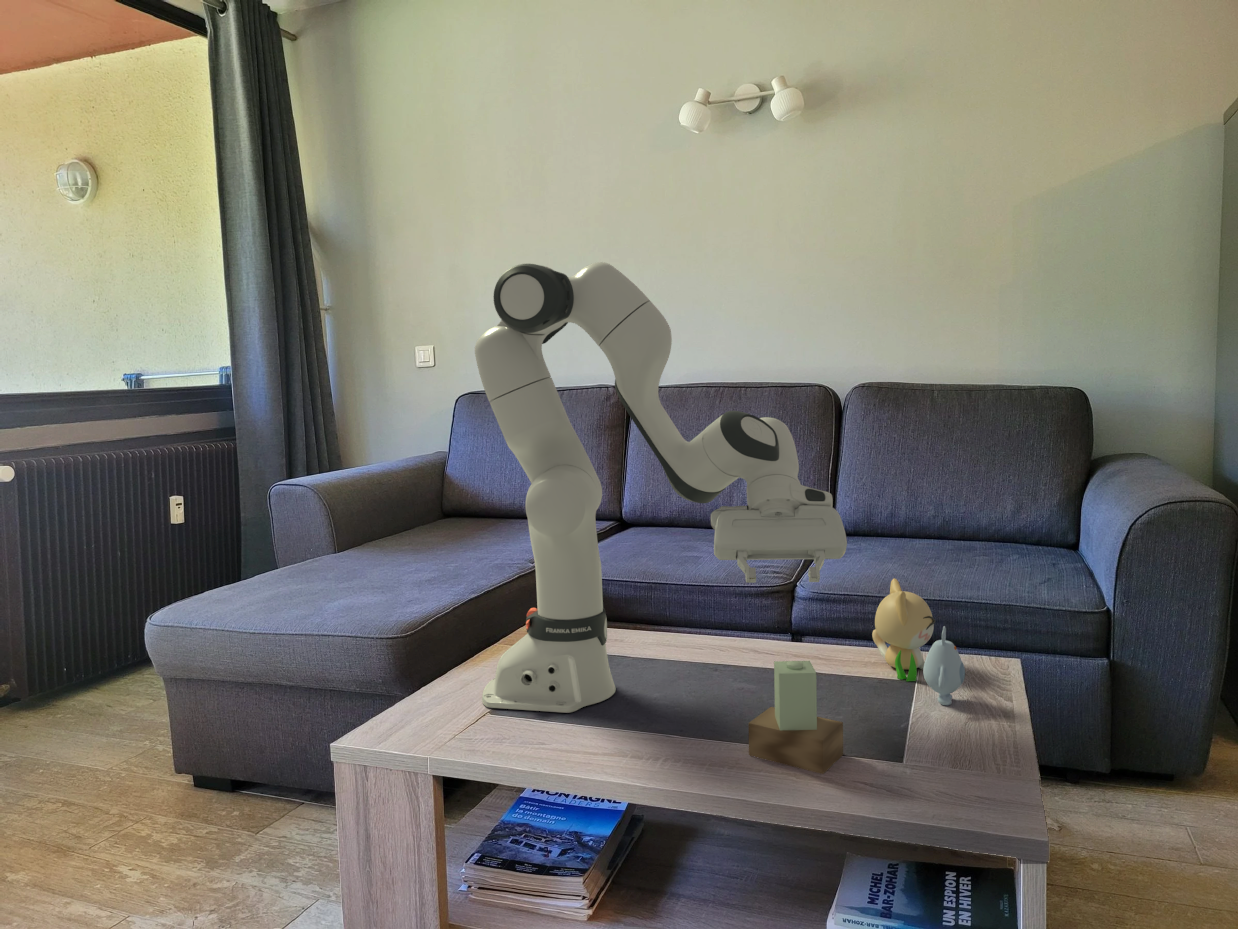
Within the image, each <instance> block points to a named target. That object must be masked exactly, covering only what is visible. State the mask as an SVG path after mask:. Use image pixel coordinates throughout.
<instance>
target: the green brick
mask: <svg viewBox="0 0 1238 929" xmlns="http://www.w3.org/2000/svg"><path fill="white" fill-rule="evenodd" d="M773 666H774V667H773V668H774V670H773V671H774V672H773V673H774V681H773V683H774V684H773V685H774V707H775V718H776V720H777V723H778V726H779V729H780V730H817V717H818V714H817V713H818V712H817V710H818V709H817V707H818V704H817V703H818V702H817V701H818V699H817V698H818V696H817V691H818V690H817V689H818V688H817V671H816V670H815V668H814V666H813V664H812V662H811V660H786V661H785V660H783V661H781V660H779V661H776V660H775V661H774V662H773Z"/></svg>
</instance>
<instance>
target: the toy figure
mask: <svg viewBox="0 0 1238 929" xmlns="http://www.w3.org/2000/svg"><path fill="white" fill-rule="evenodd" d="M946 638H947V628H946V626H945V625H944V626H943V627H942V632H941V639H938V640H936V641H935V642H933V643H932V645H931V647H930V649H929V651H928V652H927V654H926V657H925V660H924V668H923V669H922V670H923V671H922V672H923V678H924V680H925V682H926V684H927V685H928V687H929V688H930V689H931V690H933V691H934V692H935V693H938V697H937V701H938V703H939V704H941V706H942V705H943V706H950V705H951V704H952V699H953V695H952V693H954V692H956V691H957V690H958V689H960V687H961V686H962V685H963V684H964V682H965V677H966V669H965V665H964V662H963V661H962V659H961V656H960V653H959V651H958V649H957V646H956V645H955V644H954V643H953V642H952V641H950V640H947V639H946Z"/></svg>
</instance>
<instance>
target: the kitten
mask: <svg viewBox="0 0 1238 929" xmlns="http://www.w3.org/2000/svg"><path fill="white" fill-rule="evenodd" d="M889 586H890V587H889V594H887V595H886V596H885V597H884V598H883V599H882V600H881V601H880V602H879V605H878V607H877V608H876V612H875V616H874V628H875V629H873V630H872V634H871V635H872V637H871V638H872V640H873V643H874V644H875V645H876V647H877V649H878V652H879V653H880V655H881V656H882V657H883V659H884V660H885V662H886V664H888V665H889V666H891V667H892V668H894V669H895V670H896V676H897V677H896V678H897V679H899V680H906V681H905V682H916V681H917V678H918V677H917V676H918V674H917V672H918V671H917V669H920V670H923V668H924V663H925V660H924V656H923V653H922V651H921V649H920V648H921V647H923V646H925V644H927V643H928V642H929V640H930V639H931V637H932V635H933V633H934V627H935V624H936V619H935V618H934V617H933V614H932V611H931V608H930V607H929V605H928V603H927V602H926V601H925V600H924V598H922V597H921V596H920V595H918V594H917V593H914V592H911V591H906V590H905V591H903V589H902V588H901V585H900V582H899V581H898V579H897V578H895V577H894V578H893V579H892V580H891V581H890V585H889ZM886 643H887V644H889V646H887V644H886ZM906 670H908V672H907V673H908V674H906V672H905V671H906Z"/></svg>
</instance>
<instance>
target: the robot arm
mask: <svg viewBox="0 0 1238 929" xmlns="http://www.w3.org/2000/svg"><path fill="white" fill-rule="evenodd" d="M493 304H494V308H495V312H496V313H497V316H498V317H499V318H500V322H499V323H497V324H496V325H495V326H493V327H491V328H488V329H487V330H486V331H484V332H483V333H482V334H481V335H480V336H479V337H478V339H477V340H476V342H475V345H474V355H475V361H476V365H477V369H478V373H479V377H480V380H481V383H482V386H483V389H484V392H485V396H486V397H487V400H488V402H489V404H490V407H491V410H492V411H493V415H494V416H495V419H496V421H497V424H498V426H499V428H500V431H501V434H502V435H503V439H504V440H505V442H506V445H507V447H508V448H509V450H510V451H511V452H512V453H513V455H514V456H515V458H516V459H517V461H518V463H519V465H520V466H521V468H522V470H523V471H524V473H525V474H526V476H527V478H528V480H529V481H530V486H529V487H528V490H527V493H526V496H525V514H526V517H527V524H528V525H527V527H528V532H529V539H530V546H531V550H532V554H533V555H532V556H533V560H534V566H535V567H534V569H535V581H536V582H535V584H536V586H535V587H536V602H537V603H536V605H537V608H536V607H531V608H530V609H529V610H528V611H527V613H526V618H525V628H526V634H525V635H524V636H523V637H521V638H520V639H518V641H517V642H516V643H514V644H513V645H512V646H510V647H509V648H508V649H507V650H506V651H505V652H504V653H503V654H502V655H501V657H500V658H499V660H498V662H497V665H496V670H495V676H494V677H493V678H492V679H491V680H490V681H489V682H487V684H486V685H485V686H484V687H483V688H484V689H483V691H482V696H481V697H482V698H481V701H482V703H483V705H484V706H485V707H487V708H490V709H491V708H492V709H504V710H505V709H506V710H507V709H508V710H521V711H536V712H539V711H540V712H550V713H567V714H568V713H573V712H577V711H578V710H581V708H583V707H584V708H585V707H586V706H587V707H588V706H591V705H595V704H597V703H601V702H603V701H605V700H607V699H609V698H611V697H612V696H613V695H614V694H615V693H616V690H617V689H616V685H615V682H614V678H613V676H612V672H611V669H610V663H609V659H608V658H609V657H608V652H607V644H606V643H607V639H608V620H607V615H606V614H607V612H606V609H605V608H604V602H603V600H604V599H603V598H604V597H603V578H602V575H603V574H602V561H601V558H600V557H601V556H600V550H599V549H600V548H599V542H598V534H597V522H596V514H597V510H598V509H599V507H600V505H601V503H602V497H603V487H602V486H603V485H602V484H601V480H600V478H599V477H598V474H597V472H596V470H595V468H594V466H593V465H594V464H592V461H591V459H590V458H589V456H588V453H587V452H586V449H585V447H584V446H583V443H582V441H581V439H580V438H579V436H578V434H577V432H576V430H575V429H574V427H573V425H572V422H571V421H570V419H569V416H568V414H567V411H566V409H565V406H564V404H563V401H562V400H561V397H560V395H559V392H558V390H557V387H556V385H555V383H554V381H553V378H552V376H551V373H550V371H549V368H548V366H547V364H546V362H545V358H544V354H543V350H542V349H543V345H544V344H546V343H547V342H548V341H550V340H551V339H552V338H553V337H554V336H556V334H558V333H559V332H560V331H562V330H563V329H564V328H565V327H567V325H568V324H569V323H571V324H575V325H577V326H578V327H580V328H581V329H583V330H584V331H585V333H587V334H588V335H589V337H591V339H592V341H594V342H595V344H596V345H597V346H598V347H599V349H600V350H601V351H602V352H603V353H604V355H605V357H606V358H607V360H608V361H609V363H610V367H611V368H612V372H613V374H614V378H615V379H614V388H615V392H616V394H617V397H618V399H619V400H620V403H622V406H623V407H624V409H625V411H626V412H627V414H628V415H629V417H630V418H631V420H632V422H633V423H634V425H635V426H636V428H637V429H638V431H639V432H640V434H641V435H642V437H643V439H645V441H646V444H647V445H649V447H650V449H651V450H652V452H653V453H654V455H655V457H656V459H658V462H659V464H660V465H661V467H662V469H663V471H664V474H665V476H666V478H667V480H668V483H669V484H670V486H671V489H673V490H674V492H675V494H677V495H678V496H679V497H681V498H683V499H684V500H686V501H689V502H692V503H695V504H696V503H697V504H708V503H711V502H712V501H714V500H715V498H717V497H718V496H719V495H720V494H721V493H722V492H723V491H724V490H726V488H727V487H728V486H729V485H731V484H732V483H733V482H735V481H737V480H738V479H739V478H740V479H743V480H744V481H745V482H746V503H747V505H734V506H729V505H723V506H722V505H721V506H719V508H716V509H715V510H713V511H712V512H711V513H710V526H711V528H712V529H713V530H714V537H713V539H714V540H713V554H714V556H715V557H716V558H717V559H718V560H719V561H736V562H737V564H736V565H737V567H738V568H739V569H740V570H741V571H742V572H743V574H744V576H745V583H757V574H756V572H757V571H756V570H757V569H756V568H757V567H751V566H750V565H749V564H748V563H747V561H751V560H752V561H759V560H760V561H761V560H762V561H764V560H765V561H766V560H769V561H770V560H771V561H773V560H777V561H778V560H781V561H782V560H813V563H814V564H815V565H814V566H809V567H808V572H807V574H808V575H807V576H808V582H809V583H819V582H820V580H821V573H820V571H821V569H822V568H823V566H824V564H825V560H840V559H842V558H843V556H844V555H845V553H846V551H847V546H848V541H847V540H848V539H847V534H846V531H845V526H844V523H843V520H842V517H841V515H840V513H839V511H837V509H835V508H834V507H833V505H834V504H833V501H834V500H833V499H834V498H833V495H832V493H830V492H829V491H825V490H820V489H817V488H813V487H809V486H806V485H802V484H801V481H800V480H799V477H798V475H799V469H800V467H799V466H800V465H799V464H800V463H799V457H798V451H797V447H796V443H795V440H794V437H793V434H792V433H791V431H790V429H789V427H788V426H787V425H786V424H785V423H784V422H783V421H782V420H780V419H777V418H775V417H768V416H764V417H757V416H756V415H752V414H750V413H747V412H744V411H739V410H729V411H726V412H724V413H723V414H722V415H720V416H719V417H717V418H716V419H715V420H714V421H713V422H711V423H710V424H709V425H707V426H706V427H705V429H704V430H702V431H701V432H700V433H699V434H697V435H696V436H695V437H694V438H692V439H691V440H690V441H687V440H686V439H685V438H684V437H683V435H682V434H681V433H680V431H679V429H678V428H677V427H676V425H675V423H674V422H673V420H672V419H671V418H670V417H671V416H670V415H669V414H668V413H667V411H666V409H665V408H664V407H663V404H662V403H661V399H660V396H659V385H660V383H661V382H660V381H661V378H662V375H663V372H664V370H665V368H666V365H667V362H668V360H669V358H670V354H671V350H672V344H673V343H672V342H673V340H672V331H671V329H672V328H671V327H670V325H669V323H668V321H667V319H666V318H665V316H664V315H663V314H662V312H661V311H660V310H659V308H657V306H656V305H654V303H653V302H652V301H651V300H650V298H649V297H647V295H646V294H645V293H644V292H643V291H642V290H641V289H640V288H639V287H638V286H637V285H636V284H635V283H634V282H633V281H631V279H629V278H628V277H627V276H626V275H625V274H623V273H622V272H621V271H620V270H619V269H617V267H616V268H615V267H614V266H613V265H612V264H610V263H607V262H603V261H596V262H593V263H590V264H588V265H586V266H584V267H582V268H581V269H580V270H579V271H577V272H576V273H575V274H574V275H572V276H568V275H567V274H565V273H562V272H560V271H556V270H554V269H553V268H551V267H548V266H545V265H540V264H535V263H521V264H520V263H519V264H517V265H514V266H512V267H510V268H509V269H508V268H507V270H505V271H504V272H503V273H501V275H500V276H499V278H498V280H497V282H496V283H495V286H494V290H493Z"/></svg>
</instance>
